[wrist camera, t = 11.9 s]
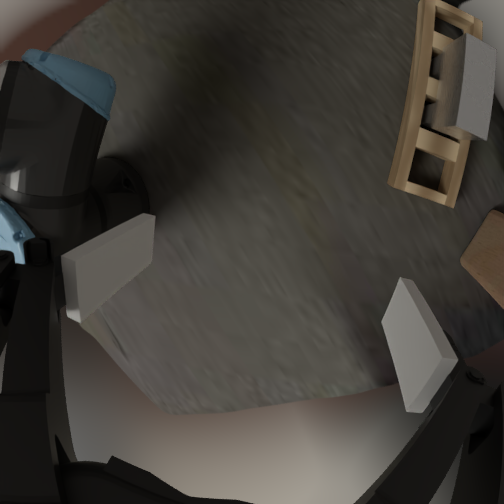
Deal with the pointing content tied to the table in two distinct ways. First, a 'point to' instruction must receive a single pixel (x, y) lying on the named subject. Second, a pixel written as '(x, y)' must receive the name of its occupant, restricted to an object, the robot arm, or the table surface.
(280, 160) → the table surface
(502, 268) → the wooden block
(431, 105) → the grey concrete brick
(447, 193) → the rail
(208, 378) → the table surface
